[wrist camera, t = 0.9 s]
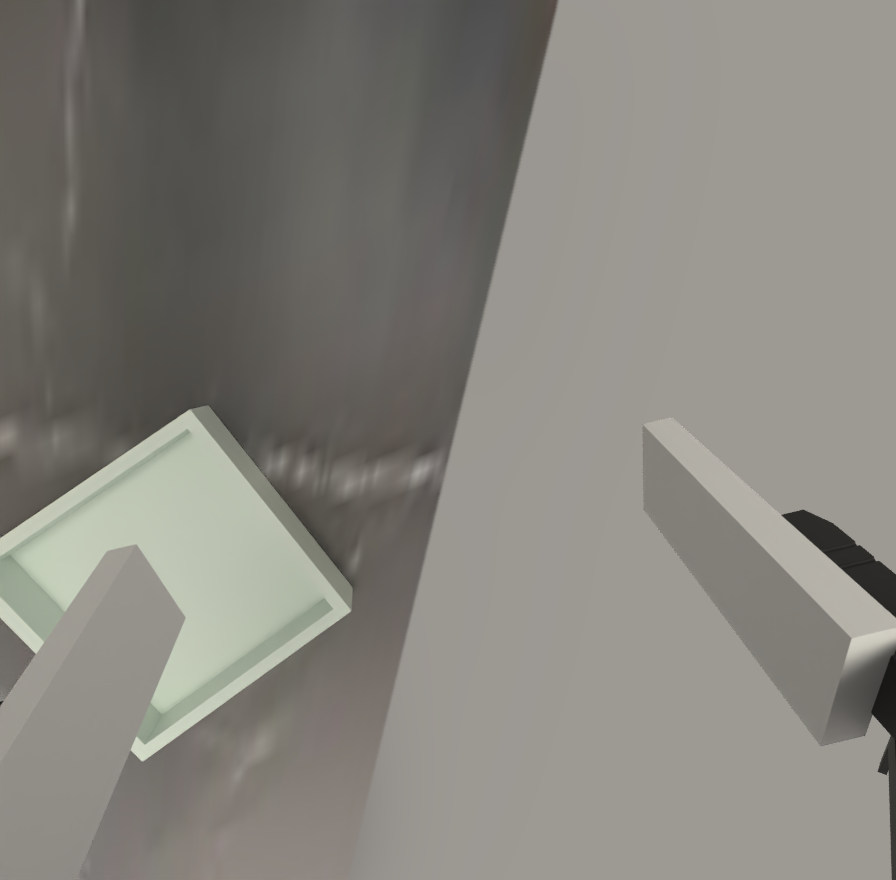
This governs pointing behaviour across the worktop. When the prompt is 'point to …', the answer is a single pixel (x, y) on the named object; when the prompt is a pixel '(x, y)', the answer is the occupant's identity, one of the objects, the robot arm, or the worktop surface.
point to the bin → (183, 565)
